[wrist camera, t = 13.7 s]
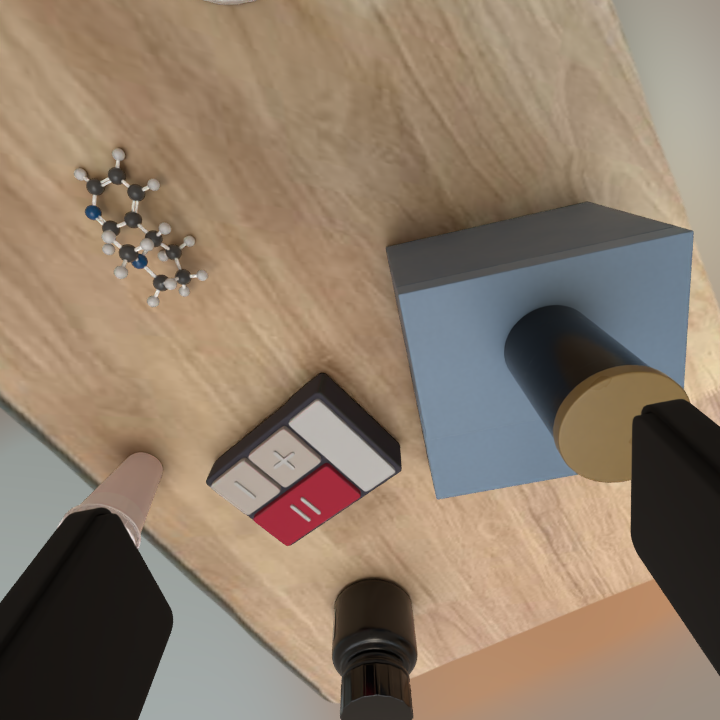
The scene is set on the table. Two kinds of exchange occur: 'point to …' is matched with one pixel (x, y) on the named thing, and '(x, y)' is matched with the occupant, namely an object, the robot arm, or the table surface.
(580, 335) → the dark jar with lid
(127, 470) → the smoothie
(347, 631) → the ink bottle
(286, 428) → the calculator
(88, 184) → the molecule model
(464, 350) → the blue-grey angular block
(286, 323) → the table surface
